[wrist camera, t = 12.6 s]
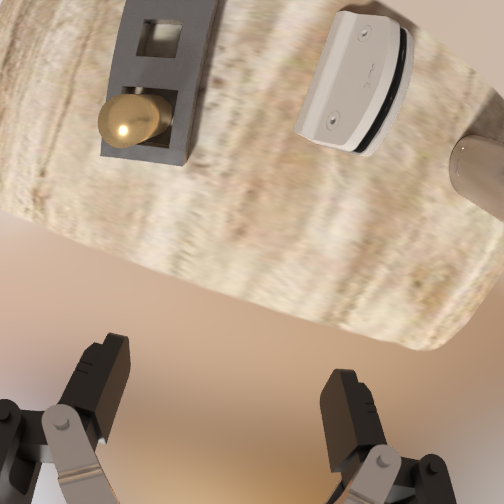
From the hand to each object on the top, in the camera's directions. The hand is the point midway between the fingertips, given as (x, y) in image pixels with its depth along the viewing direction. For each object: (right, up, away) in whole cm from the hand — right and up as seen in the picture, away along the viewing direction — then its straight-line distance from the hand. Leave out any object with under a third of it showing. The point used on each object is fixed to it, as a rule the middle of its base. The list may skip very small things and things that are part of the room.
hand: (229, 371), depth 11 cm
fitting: (-11, +20, +21) cm, 31 cm away
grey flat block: (-10, +24, +19) cm, 32 cm away
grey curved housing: (+12, +24, +20) cm, 33 cm away
